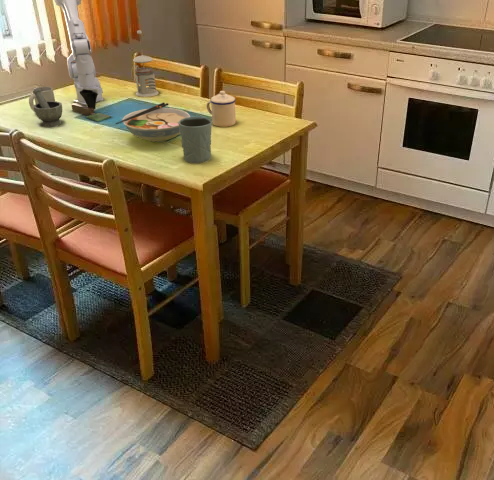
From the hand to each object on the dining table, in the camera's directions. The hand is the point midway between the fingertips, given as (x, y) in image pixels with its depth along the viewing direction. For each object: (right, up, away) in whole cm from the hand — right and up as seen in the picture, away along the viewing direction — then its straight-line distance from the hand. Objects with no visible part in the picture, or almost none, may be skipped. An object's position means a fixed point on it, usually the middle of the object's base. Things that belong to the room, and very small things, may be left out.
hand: (92, 109), depth 223 cm
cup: (-18, -2, 0) cm, 18 cm away
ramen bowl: (+31, -17, -22) cm, 41 cm away
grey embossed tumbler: (+46, -26, -36) cm, 64 cm away
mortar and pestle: (-12, -8, -9) cm, 17 cm away
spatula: (-1, -2, -1) cm, 3 cm away
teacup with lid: (+50, -7, -7) cm, 51 cm away
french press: (+15, +13, +23) cm, 30 cm away
